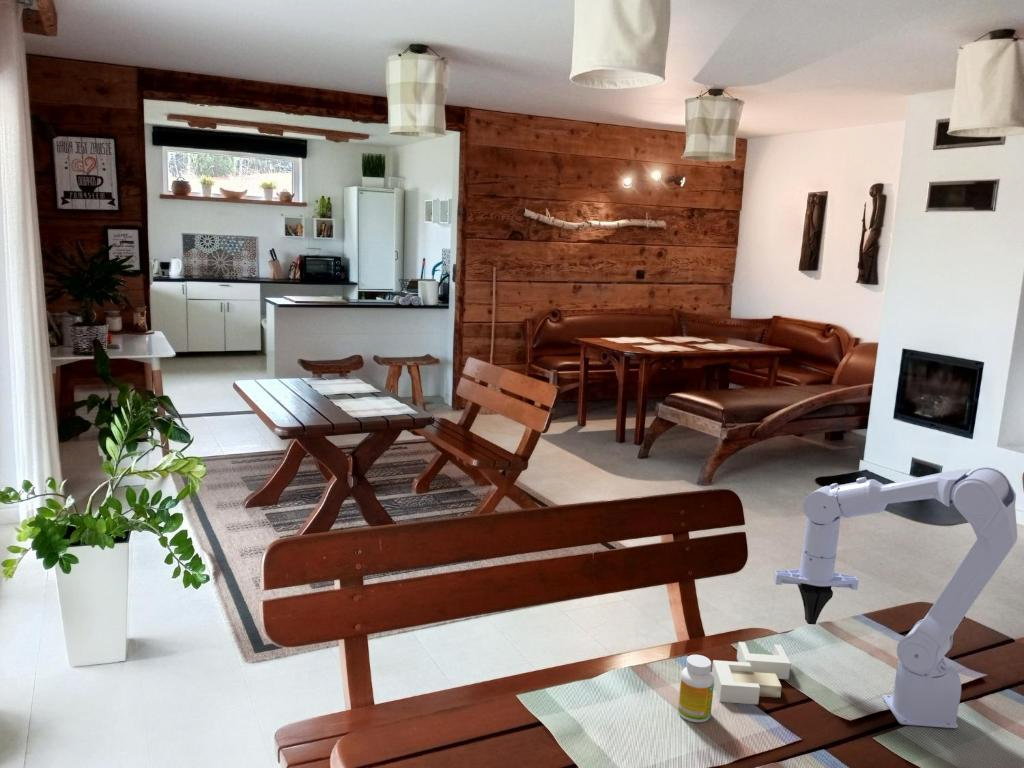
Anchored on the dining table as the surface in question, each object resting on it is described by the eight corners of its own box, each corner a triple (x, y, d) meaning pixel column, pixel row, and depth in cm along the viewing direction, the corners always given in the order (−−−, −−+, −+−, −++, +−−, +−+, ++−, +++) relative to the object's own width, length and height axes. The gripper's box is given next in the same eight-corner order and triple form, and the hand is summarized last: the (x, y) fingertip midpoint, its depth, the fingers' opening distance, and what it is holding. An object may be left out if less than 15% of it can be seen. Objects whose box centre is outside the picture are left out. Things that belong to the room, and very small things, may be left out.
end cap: (747, 678, 146) (749, 662, 145) (758, 704, 138) (760, 687, 138) (711, 676, 146) (713, 660, 146) (719, 701, 138) (721, 684, 138)
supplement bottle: (711, 725, 132) (716, 671, 130) (677, 720, 133) (682, 666, 131) (709, 707, 137) (715, 654, 135) (677, 702, 138) (682, 650, 136)
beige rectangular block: (774, 686, 145) (775, 673, 144) (780, 699, 141) (781, 686, 140) (728, 683, 145) (730, 670, 144) (733, 695, 141) (734, 683, 141)
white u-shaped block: (736, 657, 153) (738, 641, 152) (779, 660, 153) (780, 644, 152) (744, 676, 147) (746, 660, 146) (788, 679, 146) (790, 663, 146)
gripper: (852, 546, 149) (843, 614, 152) (772, 541, 150) (764, 608, 153) (866, 562, 142) (856, 632, 145) (782, 556, 143) (774, 627, 146)
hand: (810, 621), depth 148 cm, fingers closed
